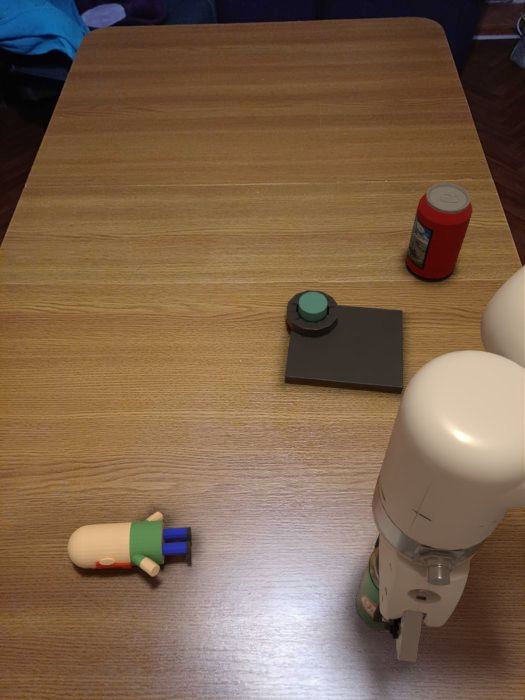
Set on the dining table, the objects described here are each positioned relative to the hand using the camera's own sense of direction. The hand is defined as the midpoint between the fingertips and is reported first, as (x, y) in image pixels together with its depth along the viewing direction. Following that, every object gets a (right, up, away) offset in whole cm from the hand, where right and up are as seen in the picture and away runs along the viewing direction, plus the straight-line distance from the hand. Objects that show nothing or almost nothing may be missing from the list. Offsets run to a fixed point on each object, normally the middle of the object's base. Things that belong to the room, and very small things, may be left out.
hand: (392, 584), depth 54 cm
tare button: (-5, +25, +24) cm, 36 cm away
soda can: (0, -4, +6) cm, 7 cm away
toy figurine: (-24, 0, +9) cm, 26 cm away
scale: (-1, +21, +24) cm, 32 cm away
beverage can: (+12, +32, +33) cm, 47 cm away
